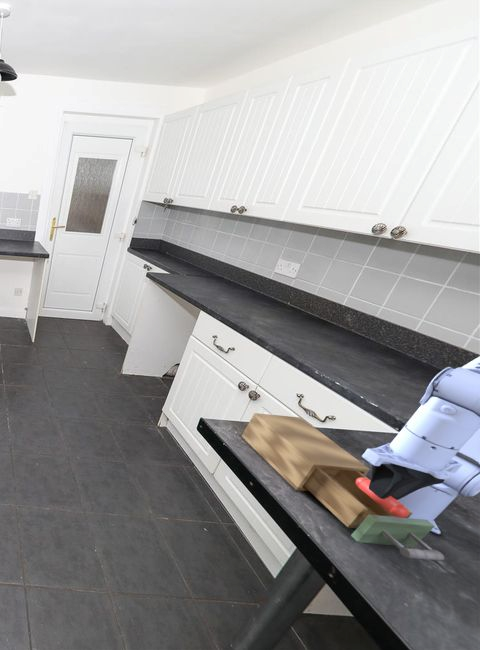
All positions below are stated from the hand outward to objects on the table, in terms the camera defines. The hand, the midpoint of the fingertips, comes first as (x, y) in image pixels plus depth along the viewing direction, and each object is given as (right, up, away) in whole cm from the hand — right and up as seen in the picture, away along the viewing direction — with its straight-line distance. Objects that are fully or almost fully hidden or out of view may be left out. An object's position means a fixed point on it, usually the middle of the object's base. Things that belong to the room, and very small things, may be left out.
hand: (382, 494), depth 59 cm
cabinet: (+2, -3, +19) cm, 19 cm away
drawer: (+2, -8, +5) cm, 9 cm away
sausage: (0, -2, +1) cm, 2 cm away
